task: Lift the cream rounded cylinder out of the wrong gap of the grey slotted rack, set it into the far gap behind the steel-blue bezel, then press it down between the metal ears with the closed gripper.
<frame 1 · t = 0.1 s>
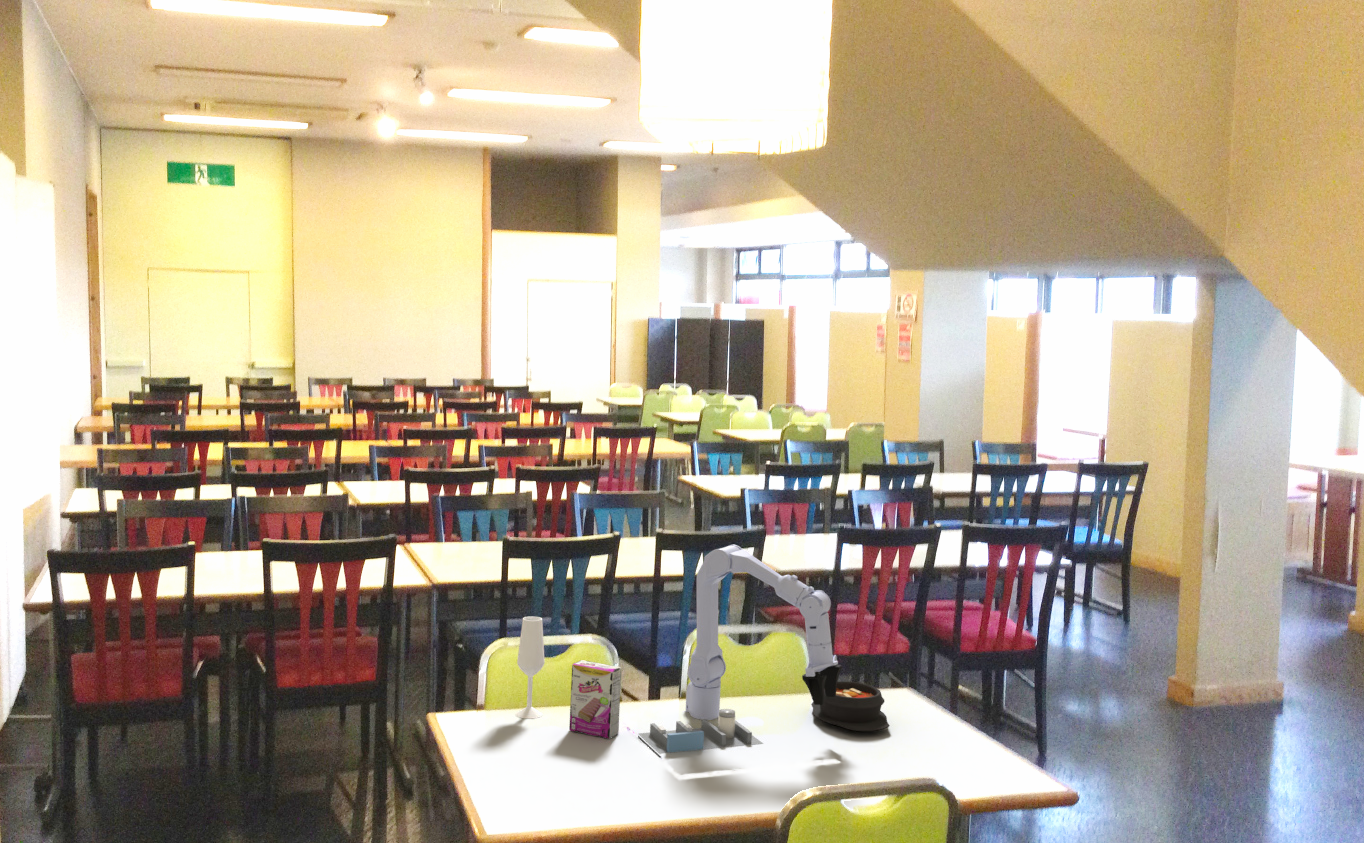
hand: (825, 700, 285), 11 cm above the table, tool pointing down, fingers open, 7 cm apart
cream rounded cylinder: (726, 736, 285), point 1 cm above the table, touching grey slotted rack
candy bar box: (593, 733, 287), on the table
champagne flute: (528, 715, 298), on the table
casserole: (849, 722, 304), on the table
grey slotted rack: (700, 742, 283), on the table
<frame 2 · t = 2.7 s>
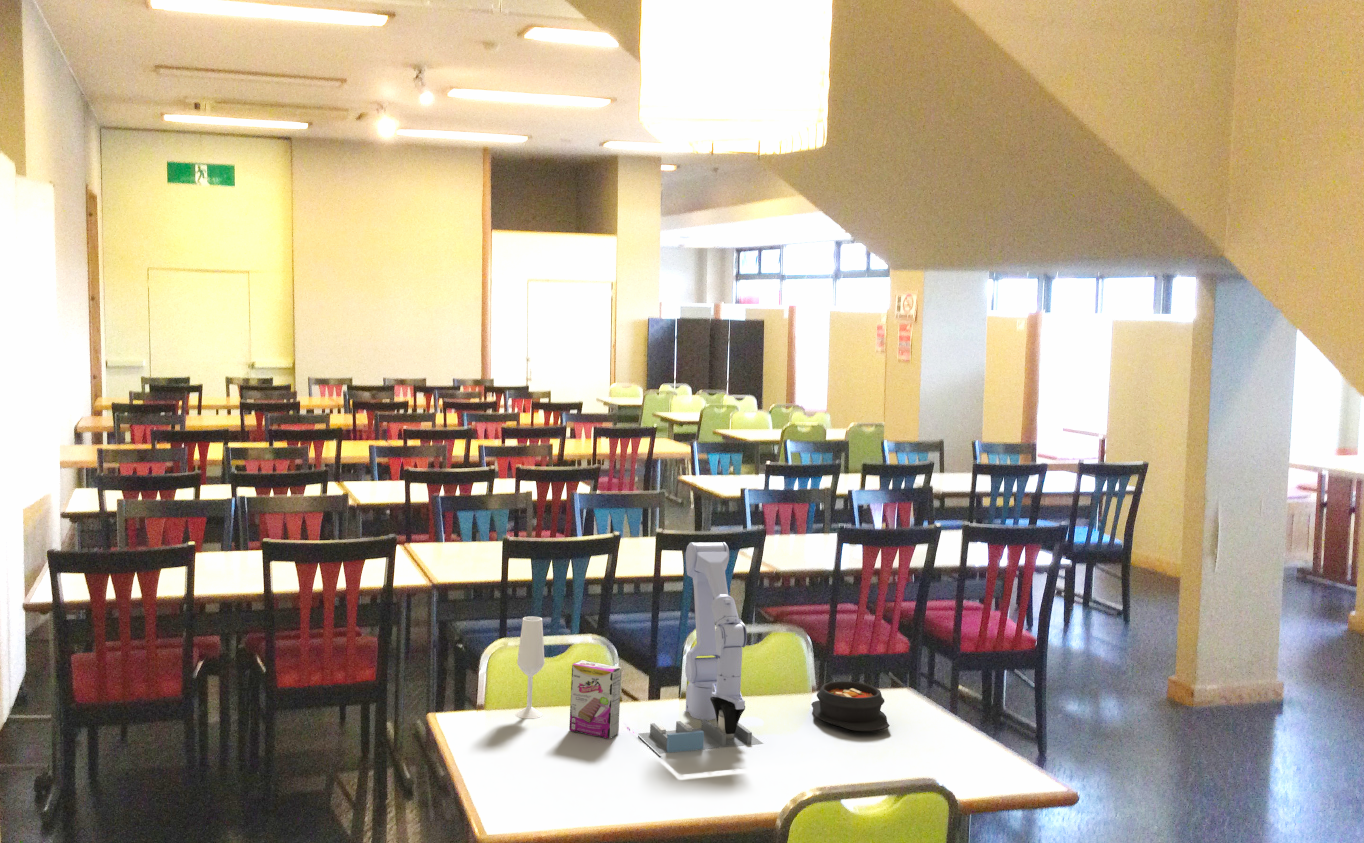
hand: (726, 730, 285), 2 cm above the table, tool pointing down, fingers closed on cream rounded cylinder, 4 cm apart
cream rounded cylinder: (726, 736, 285), point 1 cm above the table, touching grey slotted rack, gripper
everything else where it was.
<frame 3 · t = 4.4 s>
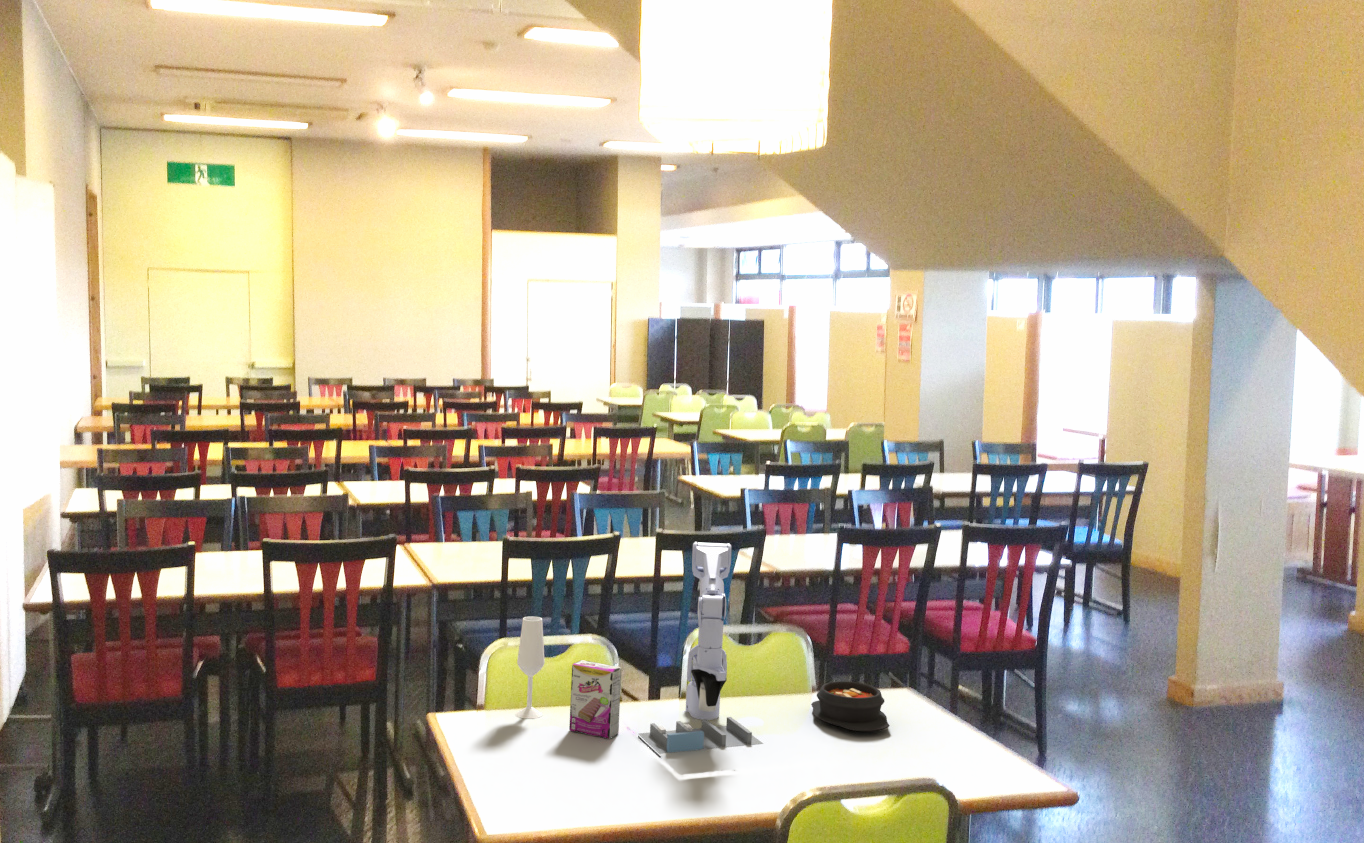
hand: (707, 702, 283), 9 cm above the table, tool pointing down, fingers closed on cream rounded cylinder, 4 cm apart
cream rounded cylinder: (707, 708, 283), point 8 cm above the table, touching gripper
everything else where it was.
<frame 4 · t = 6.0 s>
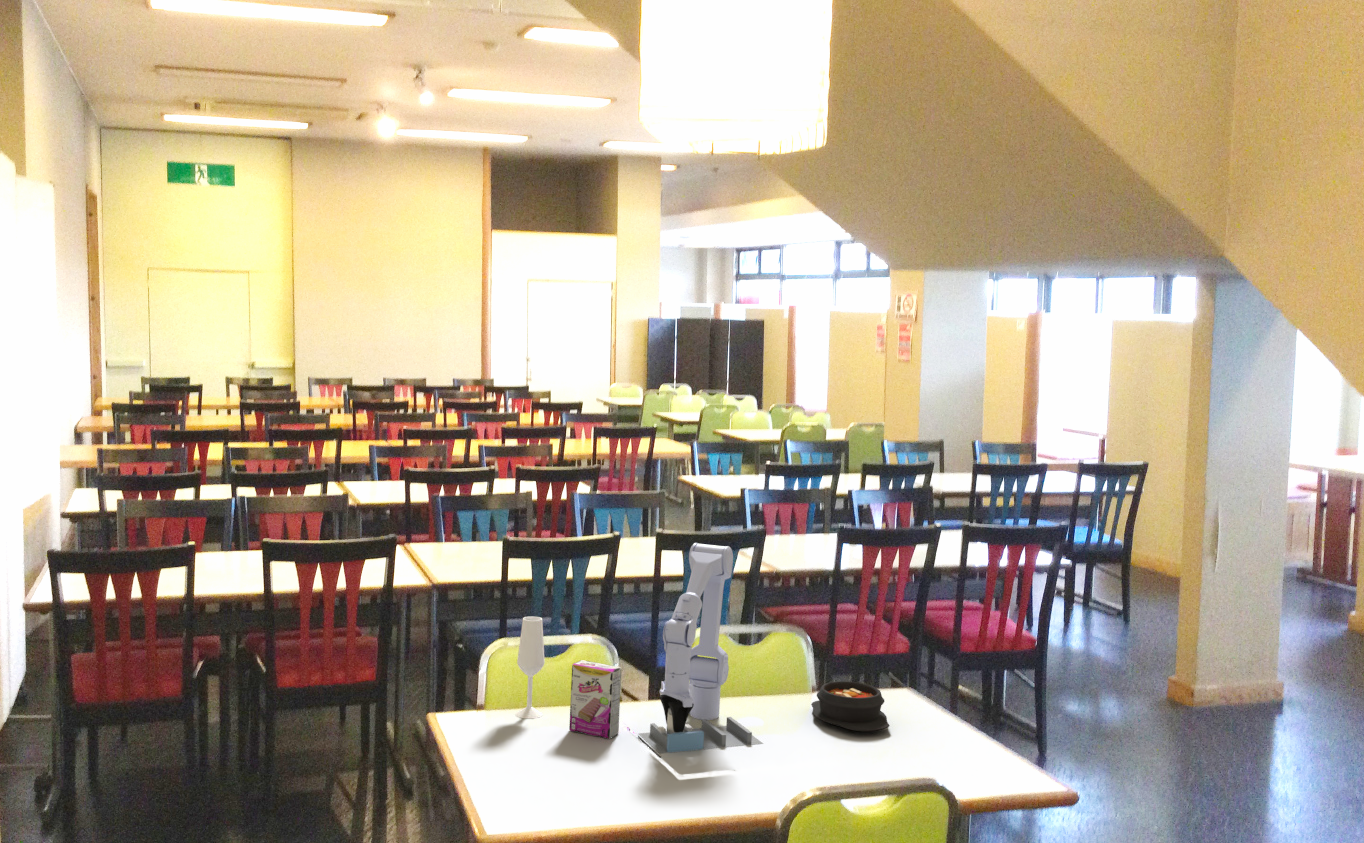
hand: (674, 728, 280), 4 cm above the table, tool pointing down, fingers closed on cream rounded cylinder, 4 cm apart
cream rounded cylinder: (674, 734, 280), point 2 cm above the table, touching gripper
everything else where it was.
when the fingers open (4 cm above the table, at t = 6.3 s): cream rounded cylinder drops 1 cm, resting on grey slotted rack.
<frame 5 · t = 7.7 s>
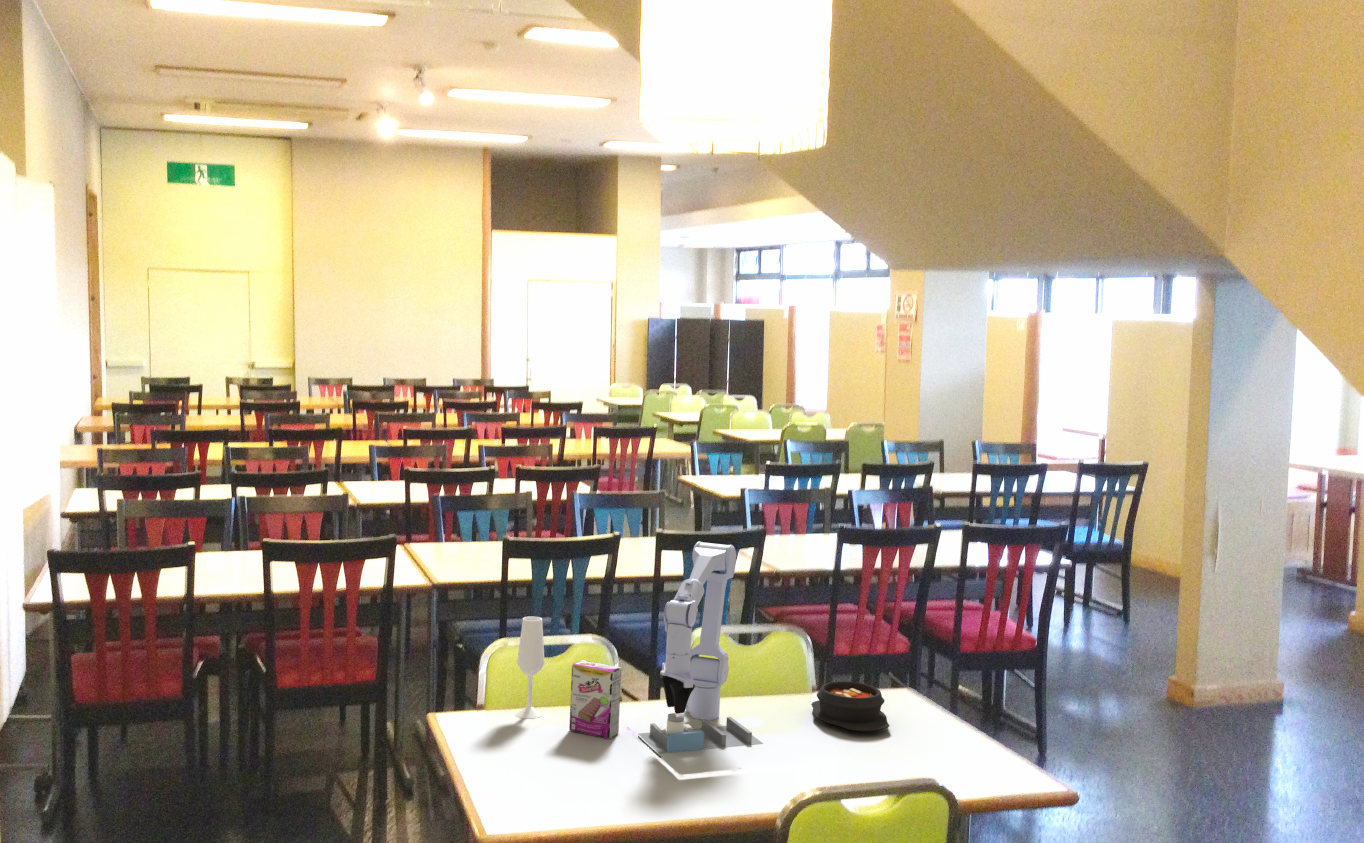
hand: (675, 709, 280), 8 cm above the table, tool pointing down, fingers open, 4 cm apart
cream rounded cylinder: (674, 740, 281), point 1 cm above the table, touching grey slotted rack
everything else where it was.
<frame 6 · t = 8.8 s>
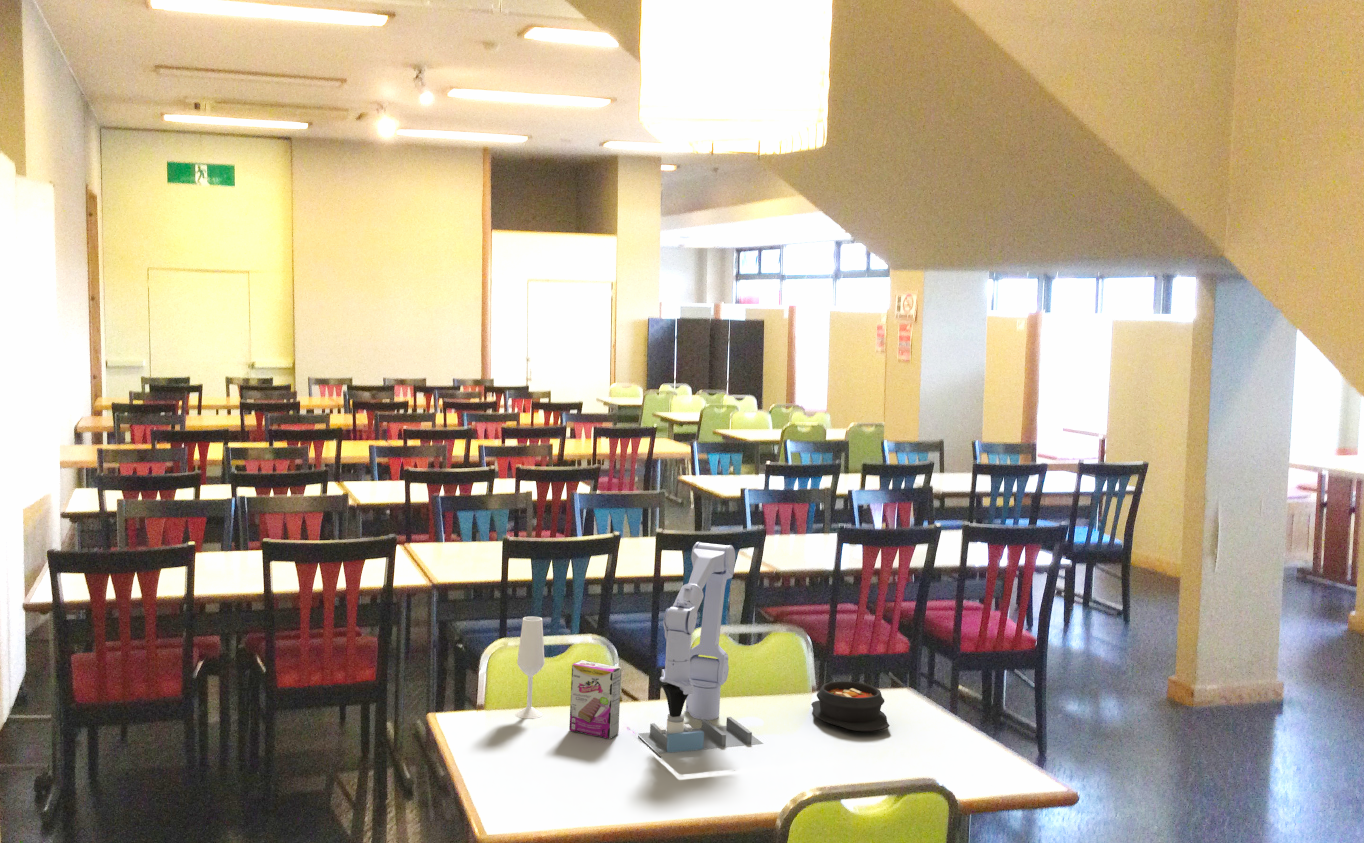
hand: (675, 716, 280), 7 cm above the table, tool pointing down, fingers closed, pressing on cream rounded cylinder
cream rounded cylinder: (674, 740, 281), point 1 cm above the table, touching grey slotted rack, gripper
everything else where it was.
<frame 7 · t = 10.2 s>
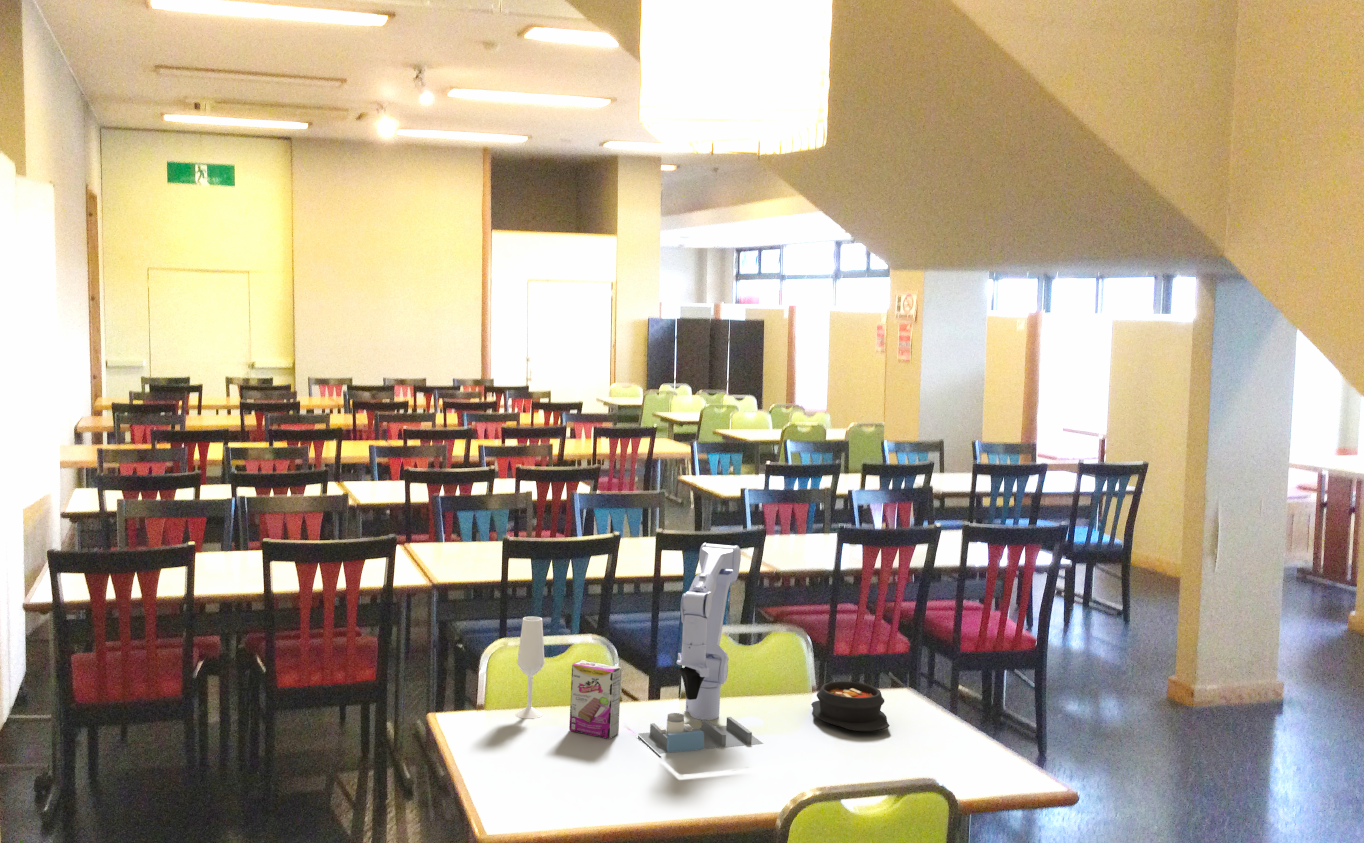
hand: (691, 698, 286), 9 cm above the table, tool pointing down, fingers closed
cream rounded cylinder: (674, 740, 281), point 1 cm above the table, touching grey slotted rack
everything else where it was.
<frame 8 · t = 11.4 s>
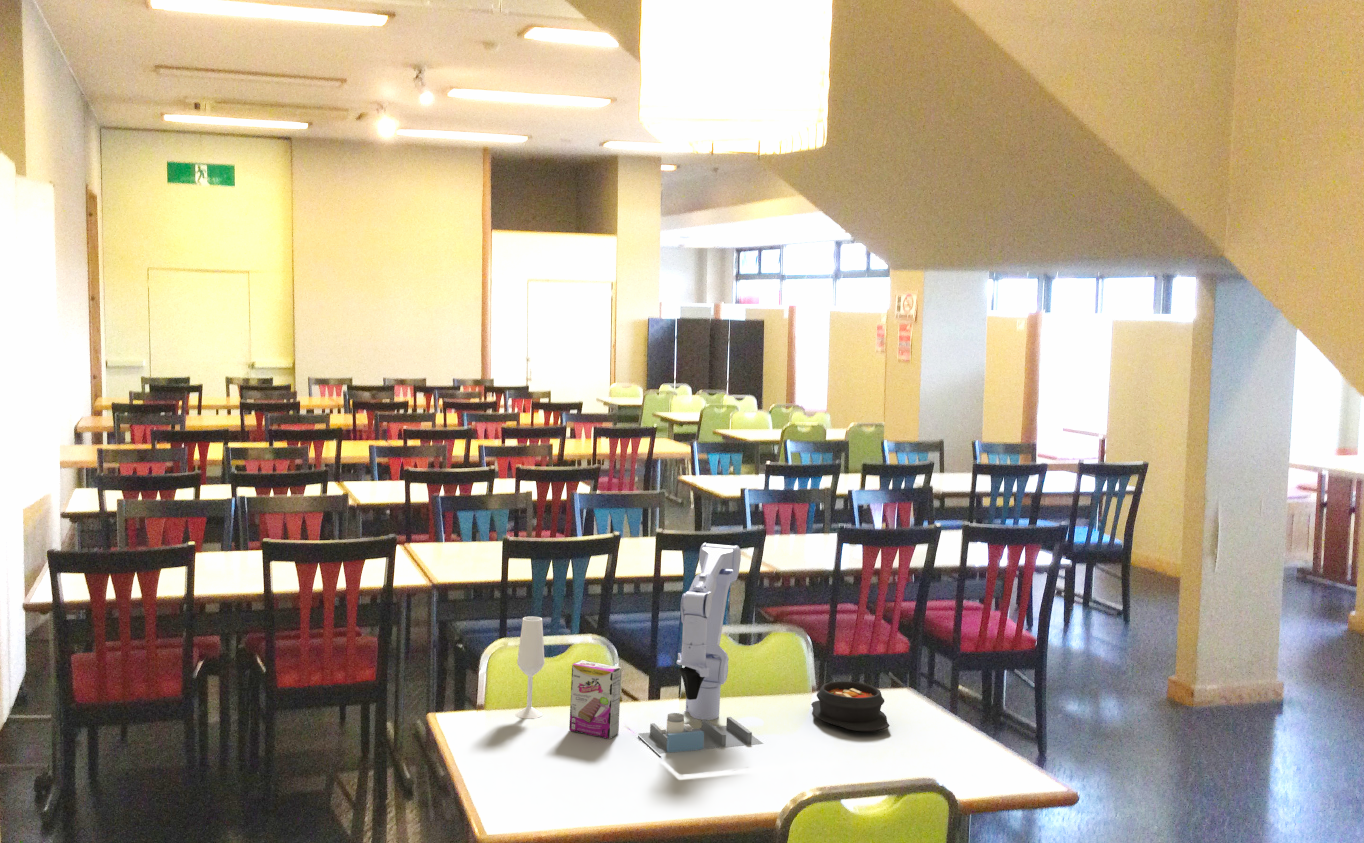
hand: (691, 698, 286), 9 cm above the table, tool pointing down, fingers closed
nothing on the table moved.
at the end: cream rounded cylinder 0.1 cm from the target spot on the grey slotted rack, point 1.0 cm above the grey slotted rack's base; cream rounded cylinder tilted 0°; the gripper is holding nothing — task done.
